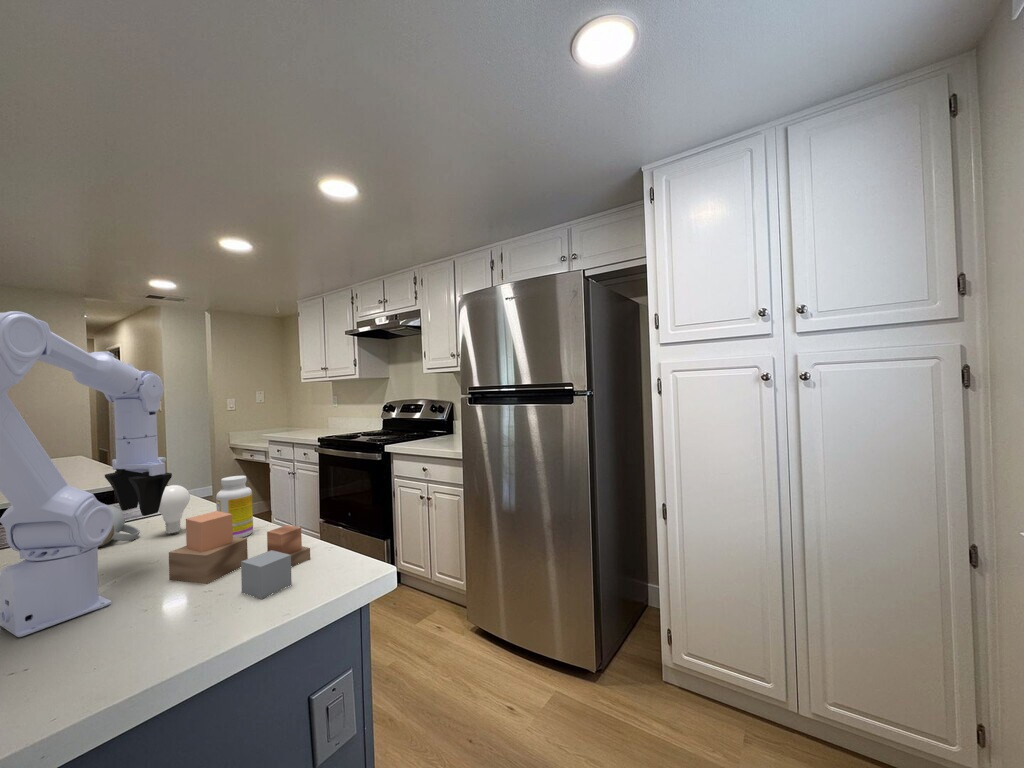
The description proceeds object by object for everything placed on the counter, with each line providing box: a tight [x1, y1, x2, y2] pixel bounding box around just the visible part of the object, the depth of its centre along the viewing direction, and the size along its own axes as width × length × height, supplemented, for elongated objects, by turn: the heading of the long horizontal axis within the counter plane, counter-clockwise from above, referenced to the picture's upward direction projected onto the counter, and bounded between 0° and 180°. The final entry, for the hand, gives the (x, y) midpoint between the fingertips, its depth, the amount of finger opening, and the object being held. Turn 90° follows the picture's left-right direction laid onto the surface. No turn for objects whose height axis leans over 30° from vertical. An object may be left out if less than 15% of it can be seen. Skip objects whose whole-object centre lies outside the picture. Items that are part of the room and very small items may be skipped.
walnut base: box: [168, 537, 249, 585], centre depth 75 cm, size 8×8×5 cm
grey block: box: [240, 550, 293, 600], centre depth 68 cm, size 5×5×5 cm
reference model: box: [261, 524, 311, 567], centre depth 78 cm, size 6×6×6 cm
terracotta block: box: [185, 510, 233, 552], centre depth 75 cm, size 5×5×5 cm
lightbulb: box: [158, 484, 191, 535], centre depth 95 cm, size 6×6×11 cm
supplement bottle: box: [215, 475, 254, 538], centre depth 93 cm, size 7×7×13 cm
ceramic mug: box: [98, 504, 141, 548], centre depth 91 cm, size 11×8×8 cm
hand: (139, 511), depth 77 cm, fingers open, 7 cm apart
